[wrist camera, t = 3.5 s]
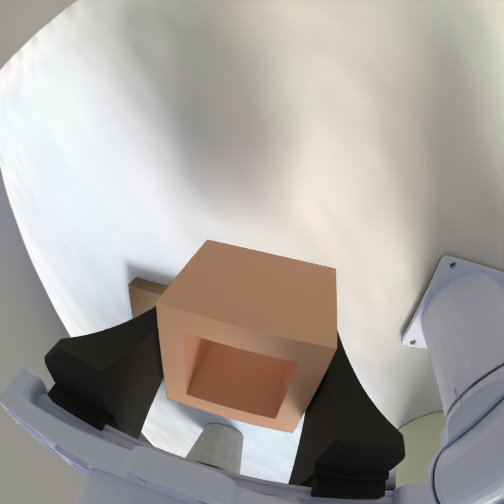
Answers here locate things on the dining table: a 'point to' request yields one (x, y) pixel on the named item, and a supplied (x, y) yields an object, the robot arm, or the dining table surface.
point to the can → (419, 447)
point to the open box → (247, 334)
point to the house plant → (218, 448)
